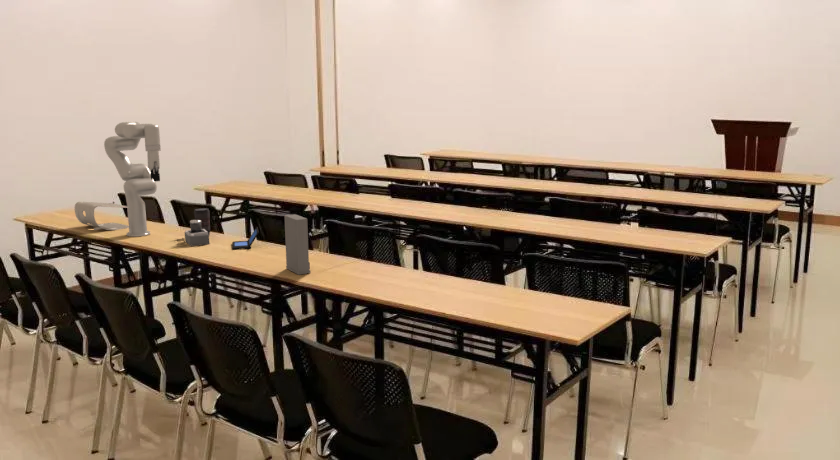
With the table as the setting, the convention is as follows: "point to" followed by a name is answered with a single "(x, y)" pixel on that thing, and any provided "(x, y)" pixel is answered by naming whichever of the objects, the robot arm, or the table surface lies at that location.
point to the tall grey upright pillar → (297, 244)
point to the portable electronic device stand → (89, 217)
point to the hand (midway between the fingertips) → (155, 180)
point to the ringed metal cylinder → (195, 226)
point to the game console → (245, 244)
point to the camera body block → (197, 238)
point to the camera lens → (203, 218)
